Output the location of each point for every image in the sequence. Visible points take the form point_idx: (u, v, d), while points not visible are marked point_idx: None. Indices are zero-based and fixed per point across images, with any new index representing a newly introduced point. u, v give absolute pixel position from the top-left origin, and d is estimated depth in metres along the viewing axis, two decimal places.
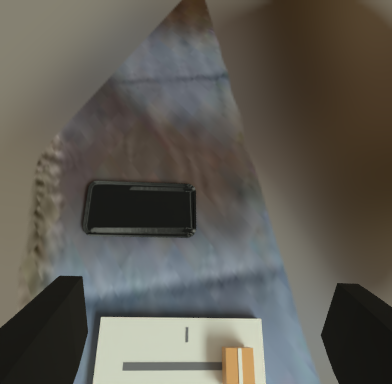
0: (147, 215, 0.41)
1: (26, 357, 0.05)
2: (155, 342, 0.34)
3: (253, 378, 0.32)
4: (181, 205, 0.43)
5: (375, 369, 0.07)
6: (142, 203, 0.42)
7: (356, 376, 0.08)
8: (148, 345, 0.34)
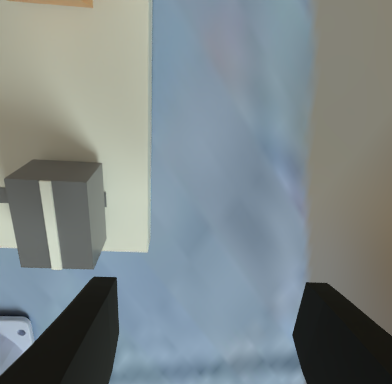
0: None
1: (77, 357, 0.05)
2: None
3: None
4: None
5: (337, 369, 0.07)
6: None
7: (321, 376, 0.07)
8: None
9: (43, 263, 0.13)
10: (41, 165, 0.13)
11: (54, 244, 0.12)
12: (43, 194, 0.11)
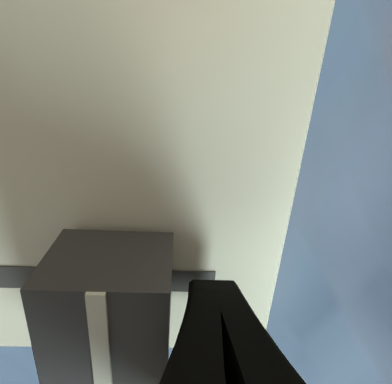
0: None
1: None
2: None
3: None
4: None
5: None
6: None
7: None
8: None
9: None
10: (79, 246, 0.08)
11: None
12: (90, 313, 0.06)
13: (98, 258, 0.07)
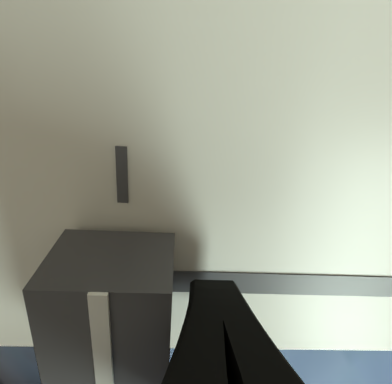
0: None
1: None
2: None
3: None
4: None
5: None
6: None
7: None
8: None
9: None
10: (81, 246, 0.08)
11: None
12: (93, 313, 0.06)
13: (100, 258, 0.07)
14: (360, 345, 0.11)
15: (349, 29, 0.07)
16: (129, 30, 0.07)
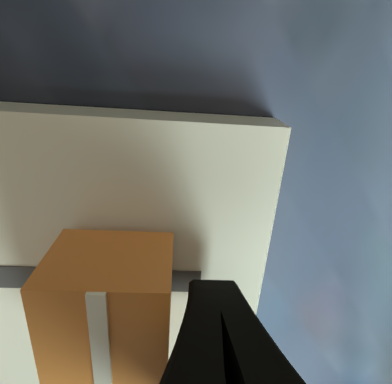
0: None
1: None
2: None
3: None
4: None
5: None
6: None
7: None
8: None
9: None
10: None
11: None
12: None
13: None
14: None
15: None
16: None
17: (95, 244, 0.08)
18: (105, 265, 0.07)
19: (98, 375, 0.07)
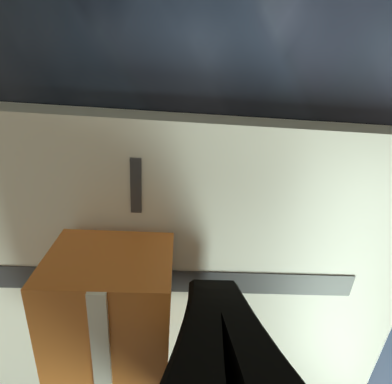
0: None
1: None
2: (5, 207, 0.08)
3: None
4: None
5: None
6: None
7: None
8: None
9: None
10: None
11: None
12: None
13: None
14: None
15: None
16: None
17: (95, 244, 0.08)
18: (105, 265, 0.07)
19: (98, 375, 0.07)
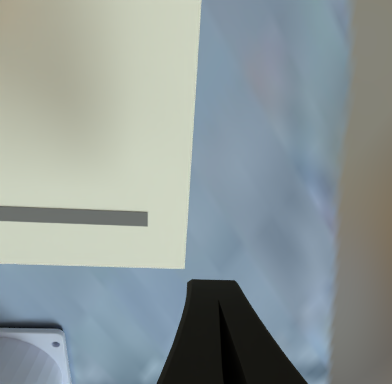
0: None
1: None
2: None
3: None
4: None
5: (223, 368, 0.07)
6: None
7: None
8: None
9: None
10: None
11: None
12: None
13: None
14: (71, 262, 0.16)
15: None
16: None
17: None
18: None
19: None
